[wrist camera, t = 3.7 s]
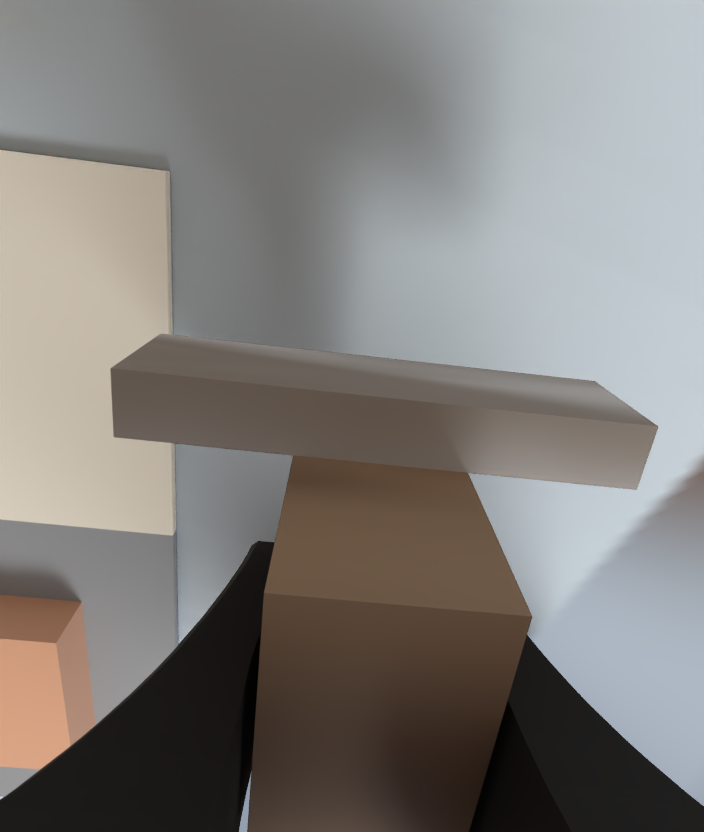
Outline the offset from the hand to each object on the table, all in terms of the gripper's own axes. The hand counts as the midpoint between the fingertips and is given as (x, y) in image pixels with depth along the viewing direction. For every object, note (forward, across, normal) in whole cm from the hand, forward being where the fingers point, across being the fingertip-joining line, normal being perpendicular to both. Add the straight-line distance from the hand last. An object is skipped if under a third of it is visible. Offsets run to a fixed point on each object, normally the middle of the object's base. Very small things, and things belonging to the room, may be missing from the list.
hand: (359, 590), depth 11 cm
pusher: (+2, 0, 0) cm, 2 cm away
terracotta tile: (+8, +13, +12) cm, 19 cm away
